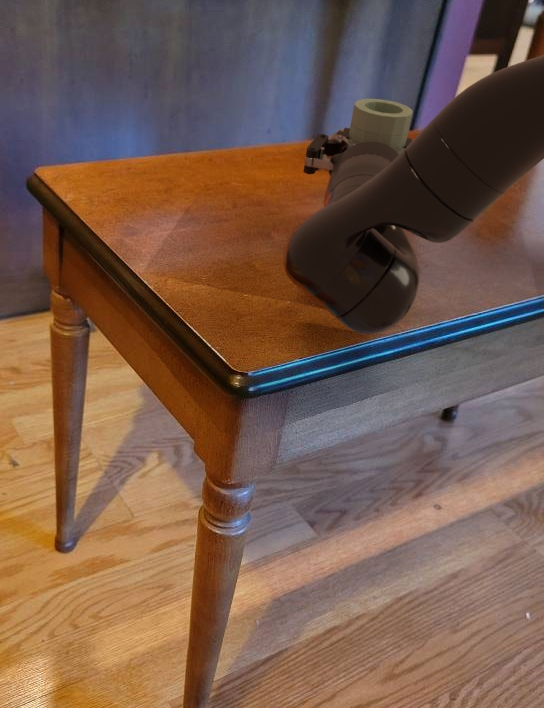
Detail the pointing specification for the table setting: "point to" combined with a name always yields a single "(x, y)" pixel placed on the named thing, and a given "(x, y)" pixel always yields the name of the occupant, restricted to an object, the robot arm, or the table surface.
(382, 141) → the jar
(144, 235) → the table surface
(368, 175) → the robot arm
